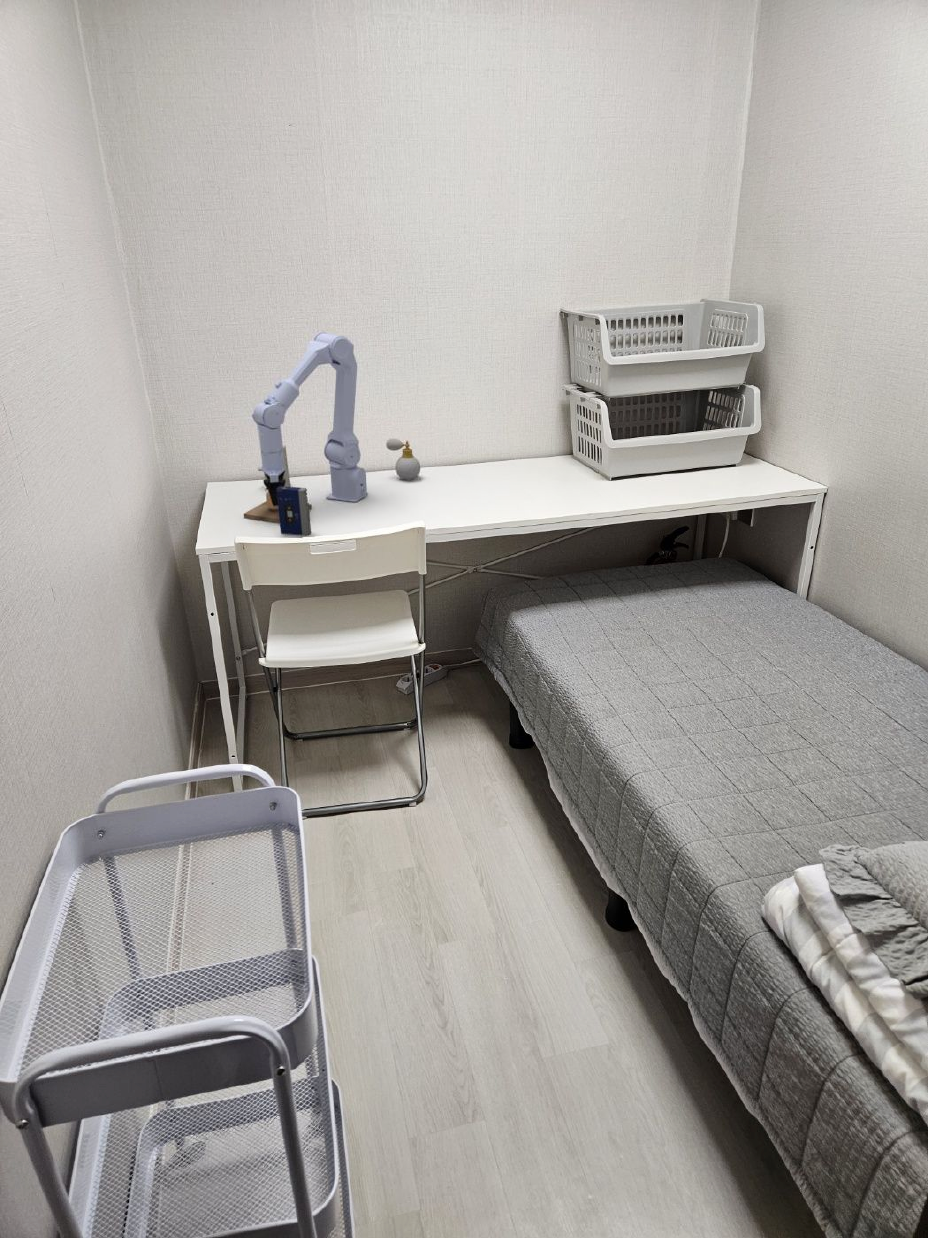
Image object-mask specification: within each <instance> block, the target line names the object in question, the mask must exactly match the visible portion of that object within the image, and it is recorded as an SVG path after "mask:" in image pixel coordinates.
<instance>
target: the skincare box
mask: <svg viewBox="0 0 928 1238" xmlns="http://www.w3.org/2000/svg"><path fill="white" fill-rule="evenodd" d="M283 454H284V464H285V466H286V470H285V473H284V476H283V479H286V482H285V485H284V486H285V487H291V480H290V471H289V470H290V469H289V464H288V463H289V461H288V455H287V448H286V445H283ZM264 479H267V477H266V475H265V474H264ZM266 490H267V491H268V489H267V488H266Z"/></svg>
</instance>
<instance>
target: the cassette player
mask: <svg viewBox="0 0 928 1238" xmlns="http://www.w3.org/2000/svg"><path fill="white" fill-rule="evenodd" d="M276 491H277V500H278V509H279V519H280V523H279V526H280V534H284V535H285V534H287V535H294V536H295V535H297V536H309V535H311V533H312V524H311V515H310V512H311V511H310V510H309V504H310V503H309V501H308V492H307V491H308V489H307V488H306V487H299V486H298V487H296V486H295V487H294V486H289V487H285V486H279V487H278V488H277V489H276Z"/></svg>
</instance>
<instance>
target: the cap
mask: <svg viewBox="0 0 928 1238" xmlns="http://www.w3.org/2000/svg"><path fill="white" fill-rule="evenodd" d="M265 497H266V501H267V507H268V508H271V509H278V506H273V504H272V501H271V497H270V494H269V491H267V492H266V494H265Z"/></svg>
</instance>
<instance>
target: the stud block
mask: <svg viewBox="0 0 928 1238" xmlns="http://www.w3.org/2000/svg"><path fill="white" fill-rule="evenodd" d="M311 510H313V506H312V503H311V504H310V503H309V511H311ZM243 519H247V520H253V521H260V520H262V521H261V522H269V523H274V524H275V523H276V524H280V519H279V509H271V508H268V507H267V500H266V501H264V502H263V503H261V504H259V505H257V506H255V507H253V508H251V509H250V510H248V511H246V512H244V513H243Z"/></svg>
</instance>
